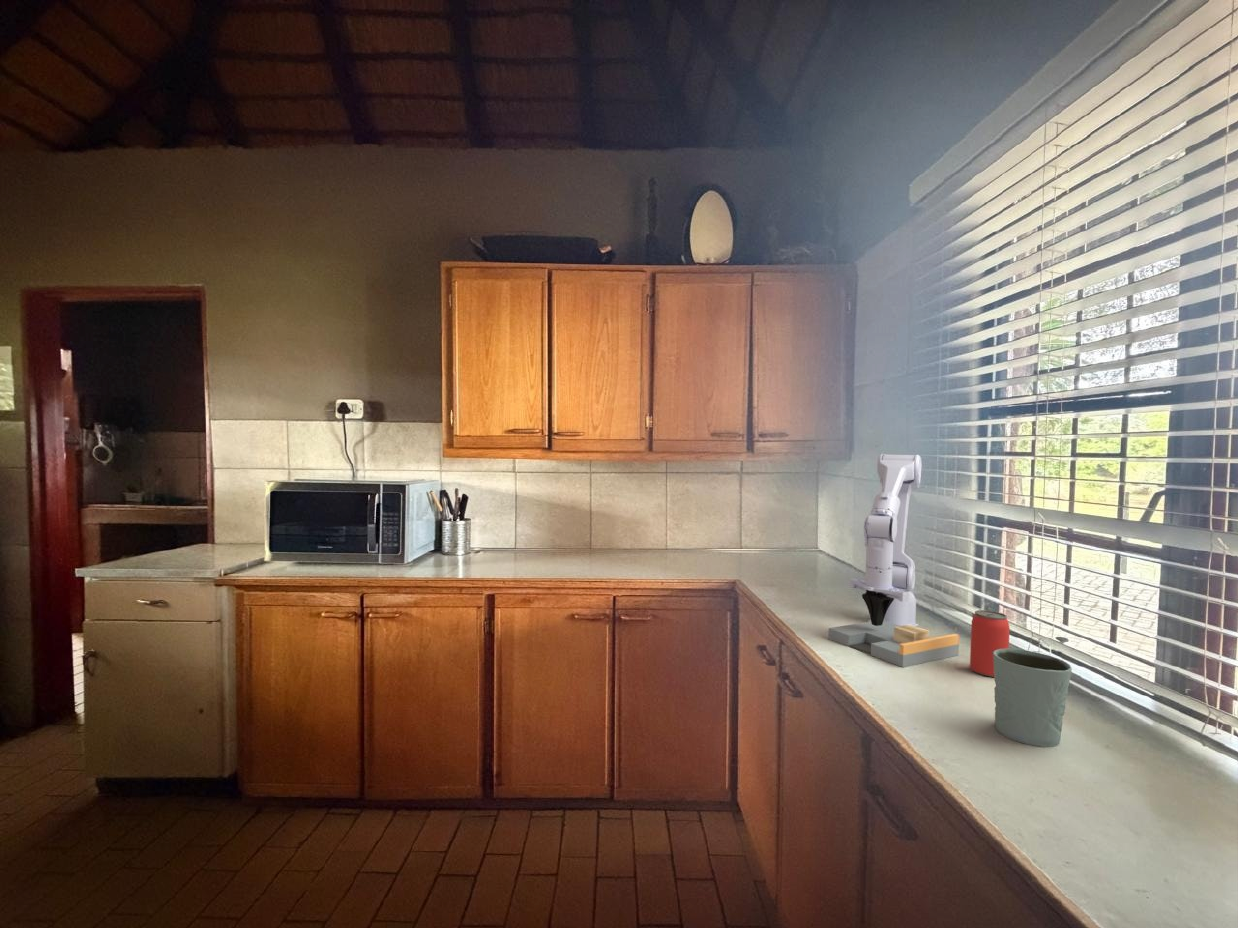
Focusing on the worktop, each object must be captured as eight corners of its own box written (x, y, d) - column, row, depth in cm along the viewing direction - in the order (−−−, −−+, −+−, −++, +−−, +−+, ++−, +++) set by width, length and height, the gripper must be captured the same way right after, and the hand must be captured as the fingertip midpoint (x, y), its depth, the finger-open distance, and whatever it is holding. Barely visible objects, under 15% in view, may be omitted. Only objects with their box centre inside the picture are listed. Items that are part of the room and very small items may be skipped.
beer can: (972, 675, 119) (974, 615, 119) (967, 664, 125) (969, 607, 125) (1011, 680, 116) (1013, 619, 116) (1003, 669, 122) (1006, 611, 122)
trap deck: (881, 629, 148) (882, 611, 148) (958, 655, 130) (959, 635, 130) (828, 638, 140) (829, 619, 140) (902, 667, 122) (903, 645, 122)
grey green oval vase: (976, 724, 97) (979, 651, 97) (1016, 715, 101) (1019, 645, 101) (1041, 754, 88) (1044, 674, 87) (1083, 742, 92) (1086, 665, 91)
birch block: (908, 637, 134) (909, 624, 134) (929, 644, 130) (929, 630, 130) (893, 640, 132) (894, 626, 132) (913, 647, 127) (914, 633, 127)
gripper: (842, 562, 143) (840, 618, 144) (894, 574, 130) (892, 635, 131) (862, 560, 146) (860, 615, 147) (915, 571, 133) (913, 631, 134)
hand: (877, 624), depth 139 cm, fingers closed
